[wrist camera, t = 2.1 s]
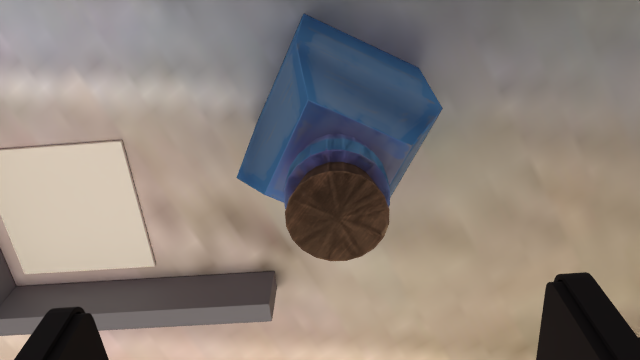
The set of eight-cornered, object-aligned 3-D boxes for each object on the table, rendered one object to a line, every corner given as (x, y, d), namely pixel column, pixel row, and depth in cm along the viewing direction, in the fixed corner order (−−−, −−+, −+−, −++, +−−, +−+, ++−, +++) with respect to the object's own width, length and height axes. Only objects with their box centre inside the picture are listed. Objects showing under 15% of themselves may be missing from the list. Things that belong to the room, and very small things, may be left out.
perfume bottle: (303, 13, 25) (281, 85, 14) (418, 68, 26) (480, 173, 15) (255, 125, 27) (206, 258, 17) (362, 170, 28) (380, 323, 18)
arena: (238, 35, 25) (227, 48, 23) (276, 287, 32) (271, 321, 29) (-102, 63, 26) (-152, 80, 24) (4, 303, 33) (-25, 337, 30)
